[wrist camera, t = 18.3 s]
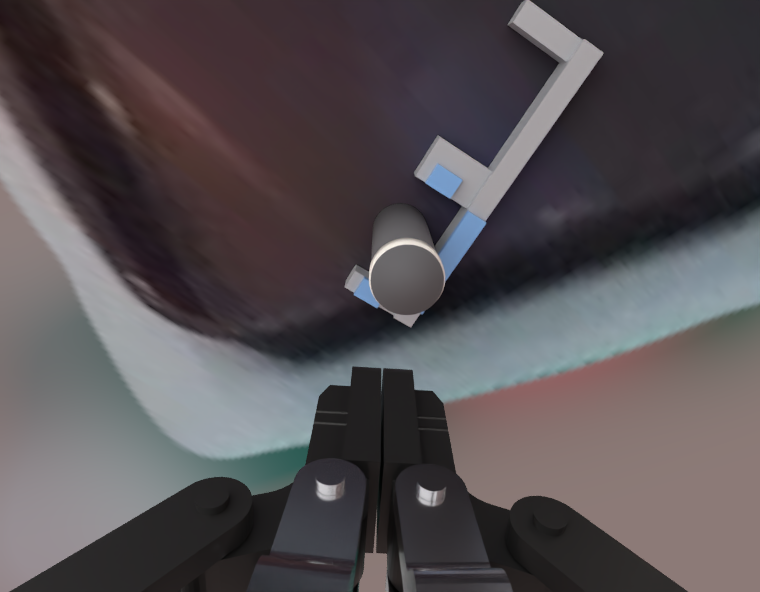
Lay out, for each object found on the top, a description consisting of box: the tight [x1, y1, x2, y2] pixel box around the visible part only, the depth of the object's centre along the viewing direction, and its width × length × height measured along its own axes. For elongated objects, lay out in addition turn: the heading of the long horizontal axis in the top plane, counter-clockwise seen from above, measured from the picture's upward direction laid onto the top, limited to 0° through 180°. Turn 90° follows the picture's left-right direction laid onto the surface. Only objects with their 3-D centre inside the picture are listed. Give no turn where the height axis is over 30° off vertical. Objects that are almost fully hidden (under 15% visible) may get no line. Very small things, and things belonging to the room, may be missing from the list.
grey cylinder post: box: [369, 203, 445, 315], centre depth 34 cm, size 4×4×11 cm
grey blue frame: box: [345, 0, 603, 327], centre depth 37 cm, size 22×6×2 cm, turn 148°
